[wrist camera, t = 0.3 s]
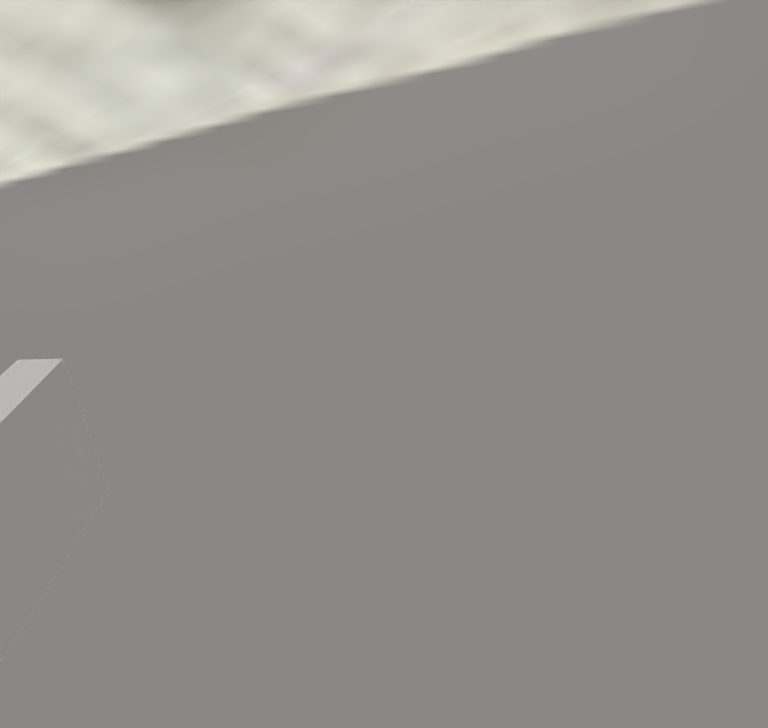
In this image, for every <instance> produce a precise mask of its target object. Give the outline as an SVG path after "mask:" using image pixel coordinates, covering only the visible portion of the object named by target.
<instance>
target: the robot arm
mask: <svg viewBox="0 0 768 728" xmlns="http://www.w3.org/2000/svg"><path fill="white" fill-rule="evenodd" d="M108 492H109V489H108V486H107V483H106V481H105V478H104V475H103V472H102V469H101V466H100V463H99V460H98V458H97V455H96V452H95V449H94V446H93V443H92V440H91V438H90V435H89V432H88V429H87V426H86V424H85V421H84V418H83V415H82V412H81V409H80V406H79V403H78V401H77V398H76V395H75V392H74V389H73V386H72V383H71V380H70V378H69V375H68V372H67V369H66V366H65V363H64V361H63V359H38V360H17V361H16V362H15V363H14V364H13V365H12V366H11V367H10V368H8V369H7V370H6V371H5V372H4V373H3V374H2V375H1V376H0V662H1V661H2V659H3V657H4V656H5V654H6V653H7V651H8V650H9V648H10V646H11V645H12V643H13V641H14V640H15V639H16V637H17V635H18V634H19V632H20V631H21V629H22V627H23V626H24V624H25V623H26V621H27V620H28V618H29V617H30V615H31V613H32V612H33V610H34V609H35V607H36V606H37V604H38V602H39V601H40V599H41V597H42V596H43V595H44V593H45V591H46V589H47V588H48V586H49V585H50V583H51V582H52V580H53V579H54V577H55V575H56V574H57V572H58V571H59V569H60V568H61V566H62V565H63V563H64V561H65V560H66V558H67V557H68V555H69V554H70V552H71V550H72V549H73V547H74V546H75V544H76V543H77V541H78V539H79V537H80V536H81V535H82V533H83V532H84V530H85V528H86V527H87V525H88V524H89V522H90V521H91V519H92V517H93V516H94V514H95V513H96V511H97V509H98V508H99V506H100V504H101V503H102V502H103V500H104V498H105V497H106V495H107V494H108Z"/></svg>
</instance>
